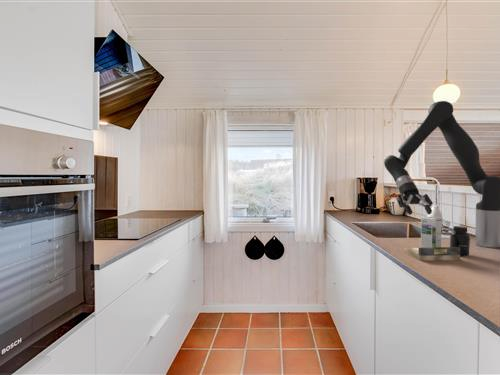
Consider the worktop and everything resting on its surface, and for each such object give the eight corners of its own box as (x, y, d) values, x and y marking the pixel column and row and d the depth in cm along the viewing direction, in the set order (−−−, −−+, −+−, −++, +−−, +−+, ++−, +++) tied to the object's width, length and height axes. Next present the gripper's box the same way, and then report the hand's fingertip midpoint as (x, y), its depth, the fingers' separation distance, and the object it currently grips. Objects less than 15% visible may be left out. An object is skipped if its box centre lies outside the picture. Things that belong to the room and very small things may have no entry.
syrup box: (420, 250, 121) (420, 217, 120) (427, 248, 124) (427, 215, 123) (434, 253, 116) (434, 218, 115) (441, 251, 119) (442, 217, 119)
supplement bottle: (461, 257, 118) (461, 228, 117) (445, 253, 124) (446, 225, 124) (473, 255, 119) (474, 227, 119) (457, 251, 126) (458, 224, 125)
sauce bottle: (445, 232, 165) (446, 202, 164) (435, 233, 163) (436, 202, 162) (433, 230, 172) (433, 201, 172) (423, 231, 170) (423, 201, 169)
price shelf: (440, 251, 126) (440, 240, 126) (460, 260, 114) (460, 247, 113) (404, 252, 126) (404, 241, 126) (420, 260, 114) (420, 248, 114)
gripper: (394, 181, 135) (408, 208, 124) (424, 181, 135) (440, 208, 124) (389, 192, 140) (401, 218, 129) (417, 191, 140) (432, 218, 129)
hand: (420, 213), depth 127 cm, fingers open, 8 cm apart
